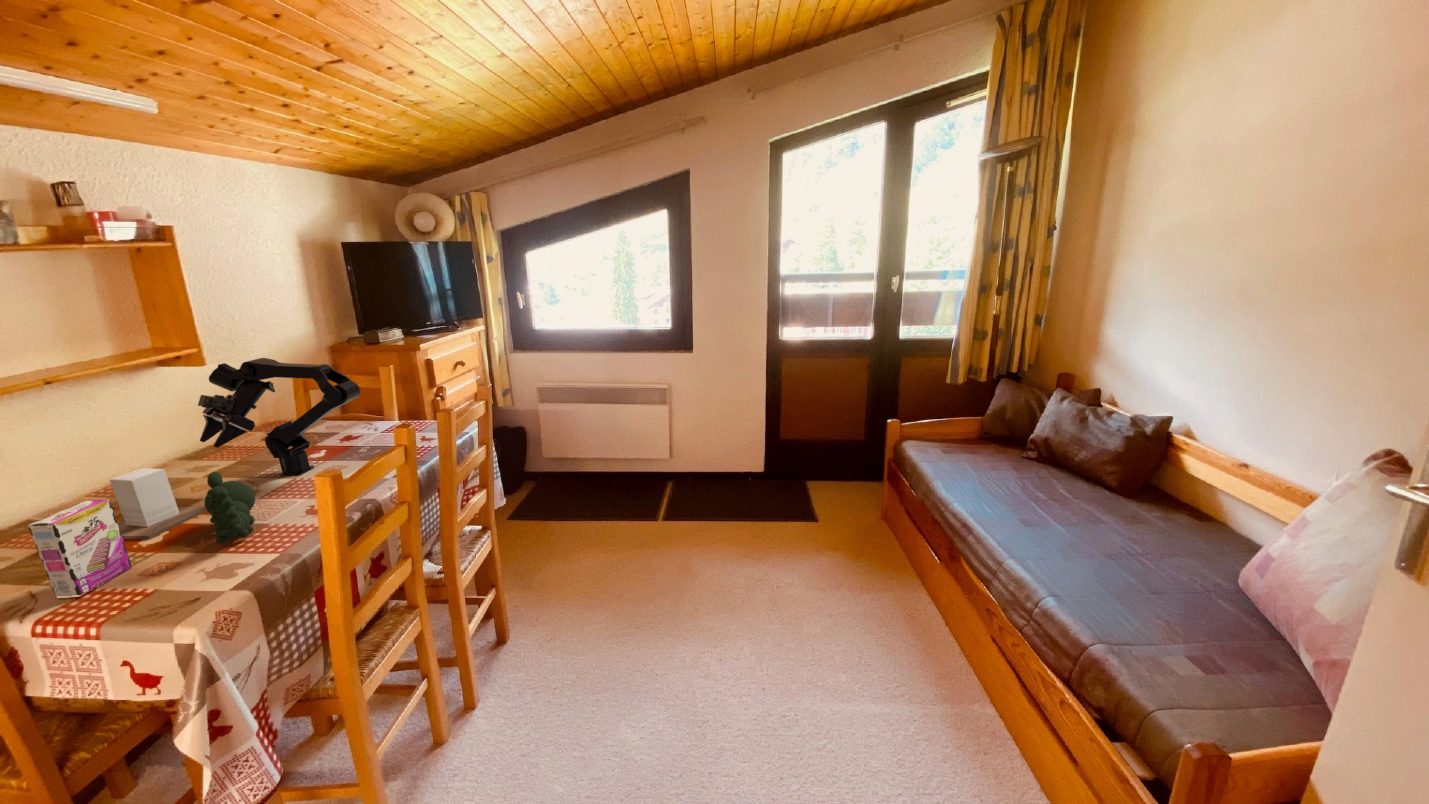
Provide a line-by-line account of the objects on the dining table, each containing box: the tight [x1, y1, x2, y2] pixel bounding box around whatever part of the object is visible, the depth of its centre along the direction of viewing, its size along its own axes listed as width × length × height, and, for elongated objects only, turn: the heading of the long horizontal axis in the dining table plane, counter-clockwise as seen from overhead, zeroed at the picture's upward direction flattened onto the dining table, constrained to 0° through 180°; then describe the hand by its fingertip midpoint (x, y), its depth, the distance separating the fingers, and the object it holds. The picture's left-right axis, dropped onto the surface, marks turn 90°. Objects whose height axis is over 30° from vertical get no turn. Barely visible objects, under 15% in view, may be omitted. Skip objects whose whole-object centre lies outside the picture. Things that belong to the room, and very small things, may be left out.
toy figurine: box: [204, 471, 256, 545], centre depth 131 cm, size 9×19×25 cm
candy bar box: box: [27, 499, 133, 598], centre depth 111 cm, size 11×5×16 cm, turn 5°
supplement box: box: [109, 467, 179, 527], centre depth 137 cm, size 7×7×13 cm
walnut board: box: [117, 506, 207, 541], centre depth 138 cm, size 15×15×1 cm
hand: (208, 444), depth 155 cm, fingers open, 9 cm apart
